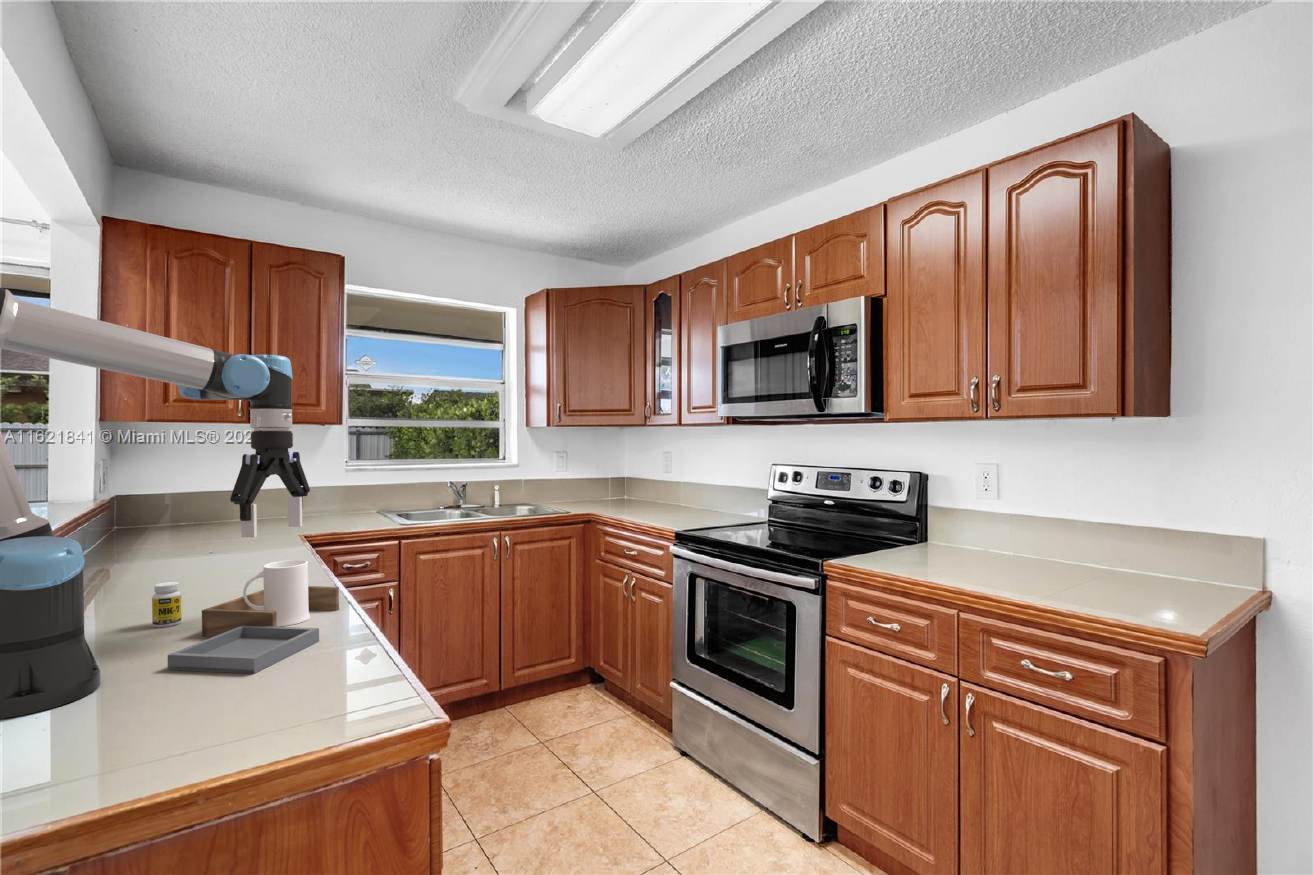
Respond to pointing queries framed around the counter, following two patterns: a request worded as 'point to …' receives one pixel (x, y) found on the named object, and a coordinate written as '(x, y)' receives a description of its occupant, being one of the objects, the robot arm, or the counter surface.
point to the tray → (243, 649)
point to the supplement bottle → (166, 605)
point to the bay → (241, 614)
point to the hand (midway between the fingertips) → (273, 531)
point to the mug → (284, 591)
